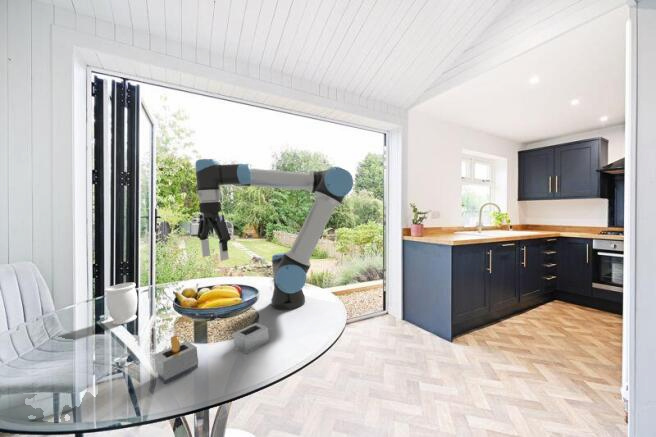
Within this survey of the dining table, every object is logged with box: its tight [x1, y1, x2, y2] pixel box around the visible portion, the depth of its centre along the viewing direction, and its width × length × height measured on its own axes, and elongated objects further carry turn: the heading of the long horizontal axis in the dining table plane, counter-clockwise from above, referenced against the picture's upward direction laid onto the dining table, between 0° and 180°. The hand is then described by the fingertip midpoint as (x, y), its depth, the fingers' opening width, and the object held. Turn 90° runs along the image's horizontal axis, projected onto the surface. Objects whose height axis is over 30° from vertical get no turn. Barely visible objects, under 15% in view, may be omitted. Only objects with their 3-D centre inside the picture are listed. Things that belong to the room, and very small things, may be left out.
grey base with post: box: [157, 335, 199, 385], centre depth 82 cm, size 9×5×10 cm, turn 140°
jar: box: [104, 282, 138, 326], centre depth 121 cm, size 11×10×15 cm
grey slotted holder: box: [232, 322, 270, 355], centre depth 95 cm, size 9×6×5 cm
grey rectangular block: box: [153, 340, 199, 380], centre depth 82 cm, size 9×6×5 cm
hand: (215, 258), depth 109 cm, fingers open, 13 cm apart
